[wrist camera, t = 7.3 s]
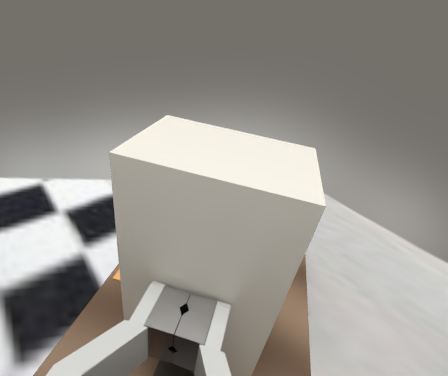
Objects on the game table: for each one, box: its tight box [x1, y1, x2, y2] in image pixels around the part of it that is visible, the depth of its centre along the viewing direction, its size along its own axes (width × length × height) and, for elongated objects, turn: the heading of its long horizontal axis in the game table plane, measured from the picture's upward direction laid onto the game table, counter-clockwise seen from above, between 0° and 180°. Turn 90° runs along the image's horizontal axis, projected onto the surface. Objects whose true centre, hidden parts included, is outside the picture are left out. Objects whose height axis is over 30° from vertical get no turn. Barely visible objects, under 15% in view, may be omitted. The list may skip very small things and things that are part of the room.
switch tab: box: [109, 115, 326, 376], centre depth 11 cm, size 4×6×10 cm, turn 77°
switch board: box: [33, 255, 311, 376], centre depth 14 cm, size 26×12×3 cm, turn 167°
